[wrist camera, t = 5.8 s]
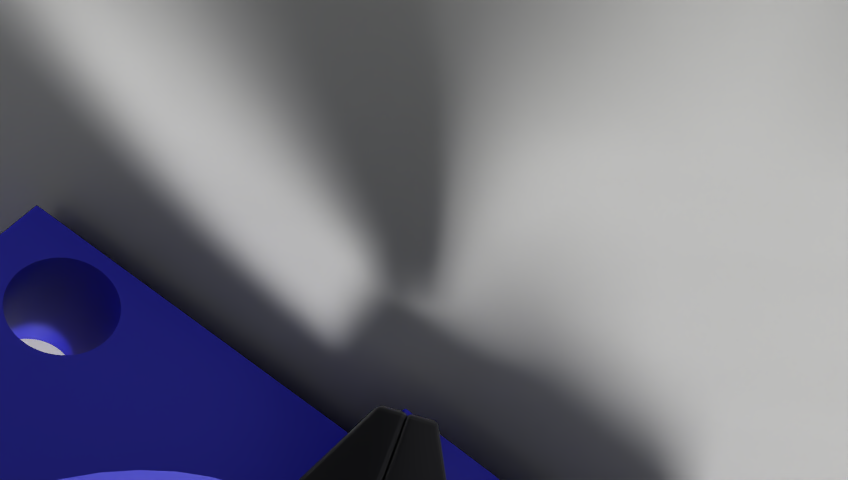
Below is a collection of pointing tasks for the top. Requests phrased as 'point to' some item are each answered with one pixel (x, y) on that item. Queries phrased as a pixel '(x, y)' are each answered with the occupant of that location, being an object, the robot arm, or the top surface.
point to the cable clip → (137, 380)
